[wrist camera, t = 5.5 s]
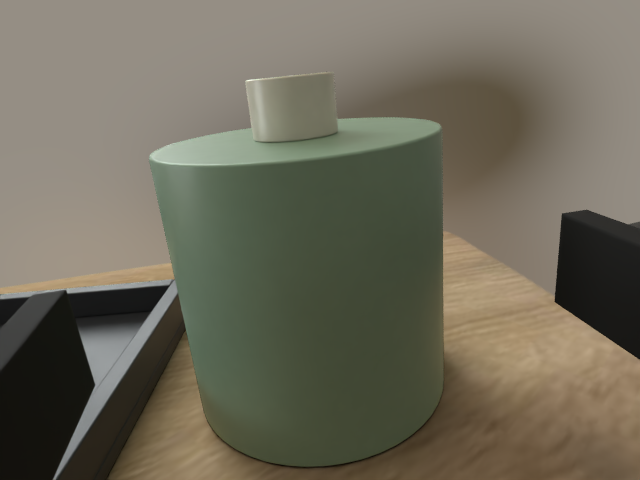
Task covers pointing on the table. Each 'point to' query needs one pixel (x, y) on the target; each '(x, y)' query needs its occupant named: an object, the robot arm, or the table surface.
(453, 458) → the table surface
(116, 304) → the tray
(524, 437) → the table surface
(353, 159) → the cover
